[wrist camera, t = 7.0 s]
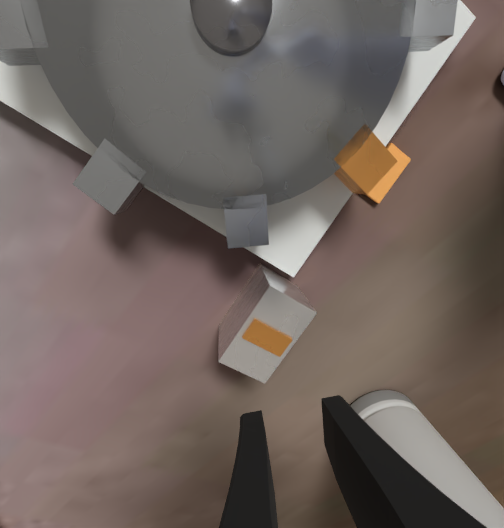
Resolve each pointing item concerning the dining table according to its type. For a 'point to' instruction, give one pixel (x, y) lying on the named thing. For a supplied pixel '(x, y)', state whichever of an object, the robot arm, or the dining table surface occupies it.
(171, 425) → the dining table surface
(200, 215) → the base plate
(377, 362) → the dining table surface
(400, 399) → the travel mug
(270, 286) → the box with orange tab
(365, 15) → the sprocket
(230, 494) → the robot arm
